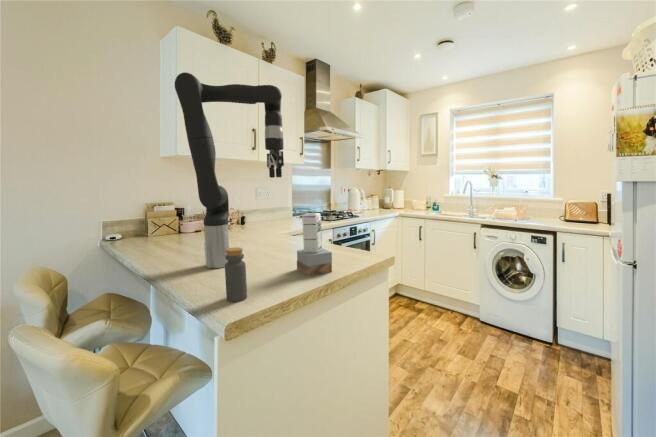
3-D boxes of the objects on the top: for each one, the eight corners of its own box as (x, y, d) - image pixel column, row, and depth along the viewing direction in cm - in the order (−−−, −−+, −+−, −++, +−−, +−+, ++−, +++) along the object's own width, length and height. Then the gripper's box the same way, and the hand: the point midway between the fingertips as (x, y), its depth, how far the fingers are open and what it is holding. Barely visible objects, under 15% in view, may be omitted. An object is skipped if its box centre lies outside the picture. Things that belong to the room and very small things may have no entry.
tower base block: (308, 277, 109) (307, 266, 108) (297, 270, 117) (296, 260, 117) (331, 272, 114) (331, 262, 113) (319, 266, 122) (319, 257, 122)
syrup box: (318, 252, 111) (317, 214, 110) (303, 252, 113) (301, 214, 111) (322, 249, 117) (321, 212, 115) (308, 249, 118) (306, 212, 117)
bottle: (233, 303, 85) (230, 252, 83) (222, 298, 89) (219, 249, 87) (251, 297, 89) (248, 248, 87) (240, 293, 93) (237, 246, 91)
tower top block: (307, 266, 108) (307, 255, 108) (297, 260, 117) (297, 250, 117) (331, 262, 113) (331, 252, 112) (320, 256, 122) (319, 247, 121)
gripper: (260, 139, 128) (261, 177, 130) (270, 135, 116) (272, 177, 118) (277, 140, 132) (278, 177, 134) (288, 136, 119) (290, 177, 122)
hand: (275, 177), depth 126 cm, fingers open, 8 cm apart
